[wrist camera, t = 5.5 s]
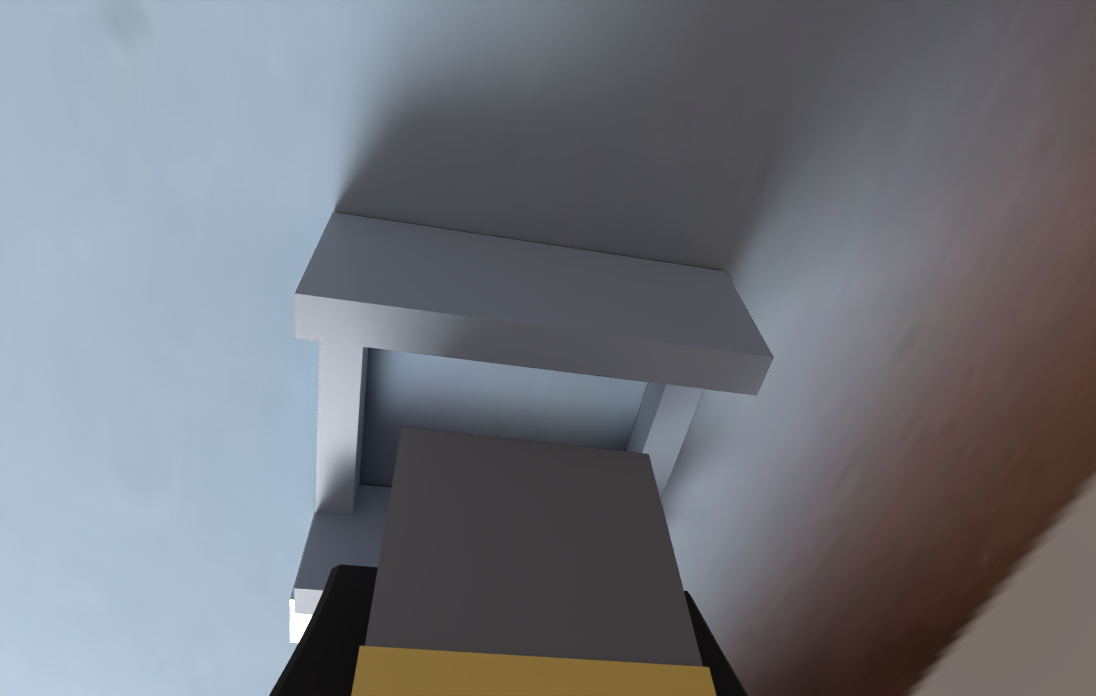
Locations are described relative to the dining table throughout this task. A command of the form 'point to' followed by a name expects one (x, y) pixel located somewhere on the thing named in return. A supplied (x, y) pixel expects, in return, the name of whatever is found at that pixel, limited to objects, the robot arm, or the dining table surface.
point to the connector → (526, 576)
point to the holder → (501, 345)
